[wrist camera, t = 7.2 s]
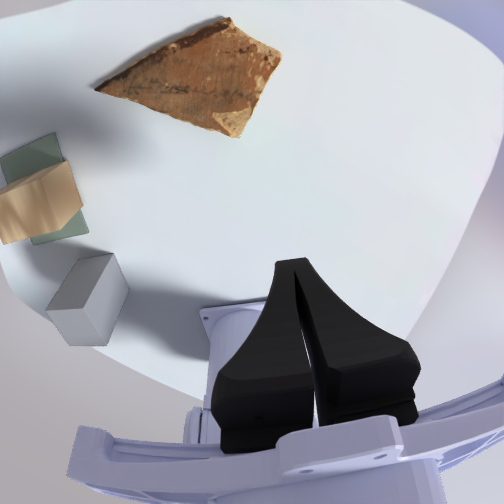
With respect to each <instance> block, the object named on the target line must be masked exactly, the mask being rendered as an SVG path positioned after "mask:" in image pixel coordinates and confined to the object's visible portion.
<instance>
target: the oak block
mask: <svg viewBox="0 0 504 504" xmlns="http://www.w3.org/2000/svg"><path fill="white" fill-rule="evenodd" d="M82 206H83V203H82V201H81V198H80V195H79V192H78V189H77V187H76V184H75V181H74V178H73V175H72V172H71V169H70V166H69V163H68V160H66V161H64V162H61V163H58V164H55V165H53V166H50V167H48V168H45V169H42V170H40V171H37V172H35V173H33V174H30V175H28V176H25V177H23V178H21V179H18V180H16V181H14V182H11V183H10V184H9V185H7V186H6V187H4V188H3V189H2V190H0V238H1V240H2V243H3V245H5V244H8V243H12V242H16V241H19V240H23V239H27V238H31V237H34V236H38V235H42V234H46V233H50V232H54V231H58V230H61V229H62V228H63V227H64V226H65V224H66V223H67V222H68V221H69V220H70V219H71V218H72V217H73V216H74V215H75V214H76V213H77V212H78V211H79V210H80V208H81V207H82Z"/></svg>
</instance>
